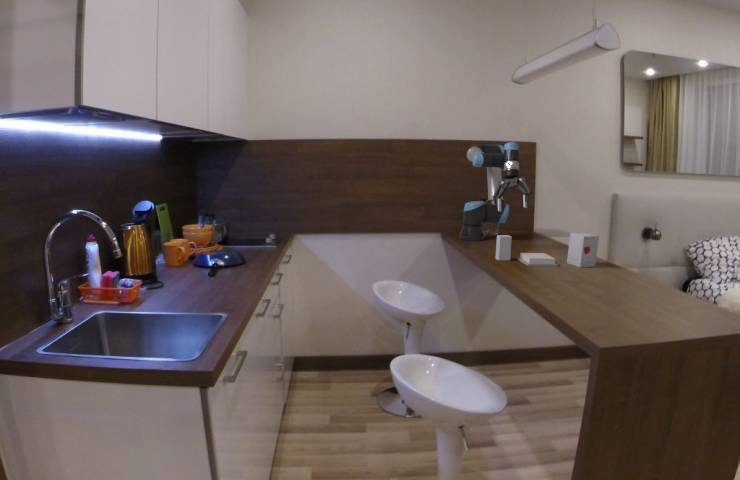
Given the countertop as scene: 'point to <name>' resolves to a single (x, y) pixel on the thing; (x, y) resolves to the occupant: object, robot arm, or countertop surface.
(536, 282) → the countertop surface
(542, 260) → the podium
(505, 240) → the skincare box
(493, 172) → the robot arm
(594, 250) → the supplement box
